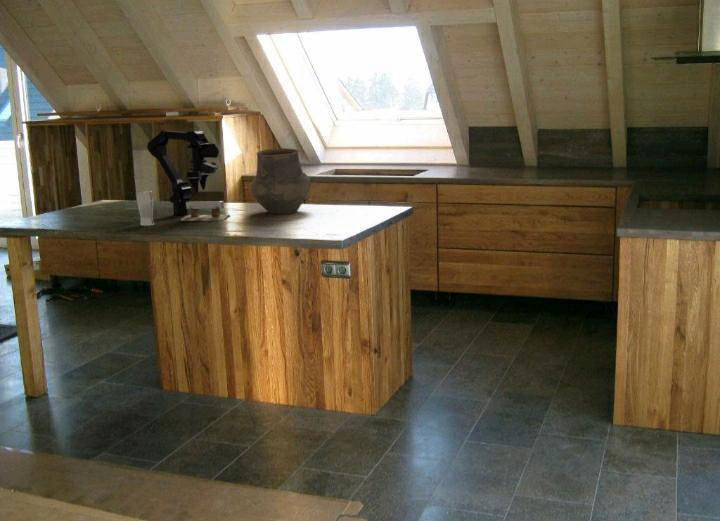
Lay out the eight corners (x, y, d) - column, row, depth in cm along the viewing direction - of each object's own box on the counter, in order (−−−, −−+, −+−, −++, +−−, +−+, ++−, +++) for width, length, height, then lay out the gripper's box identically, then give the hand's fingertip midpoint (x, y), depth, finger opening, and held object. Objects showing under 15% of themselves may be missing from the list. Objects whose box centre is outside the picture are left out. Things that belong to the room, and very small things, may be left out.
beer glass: (136, 225, 375) (133, 192, 372) (150, 223, 380) (148, 190, 376) (143, 226, 370) (140, 193, 367) (157, 224, 374) (155, 191, 371)
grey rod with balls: (185, 208, 385) (184, 202, 385) (188, 207, 389) (187, 201, 388) (222, 208, 382) (221, 202, 382) (225, 207, 386) (224, 201, 386)
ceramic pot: (315, 207, 411) (313, 146, 405) (306, 216, 384) (303, 151, 377) (259, 208, 414) (256, 148, 408) (246, 217, 387) (242, 153, 380)
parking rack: (181, 220, 383) (180, 210, 382) (189, 217, 394) (188, 206, 393) (222, 220, 380) (222, 209, 379) (230, 216, 390) (229, 206, 389)
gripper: (207, 159, 380) (210, 193, 383) (220, 155, 398) (222, 188, 401) (184, 159, 382) (187, 193, 385) (198, 156, 400) (200, 188, 403)
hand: (200, 190), depth 394 cm, fingers open, 9 cm apart
